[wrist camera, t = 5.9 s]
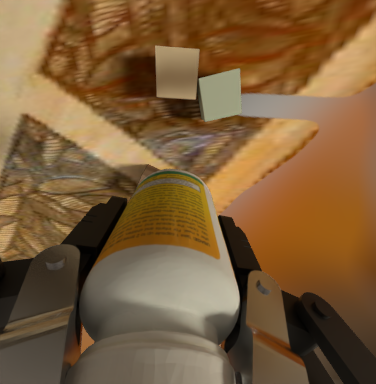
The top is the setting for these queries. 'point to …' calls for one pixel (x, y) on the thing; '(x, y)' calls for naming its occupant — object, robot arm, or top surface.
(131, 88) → the top surface
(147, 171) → the walnut block
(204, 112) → the sage block
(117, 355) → the supplement bottle
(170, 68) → the oak block
